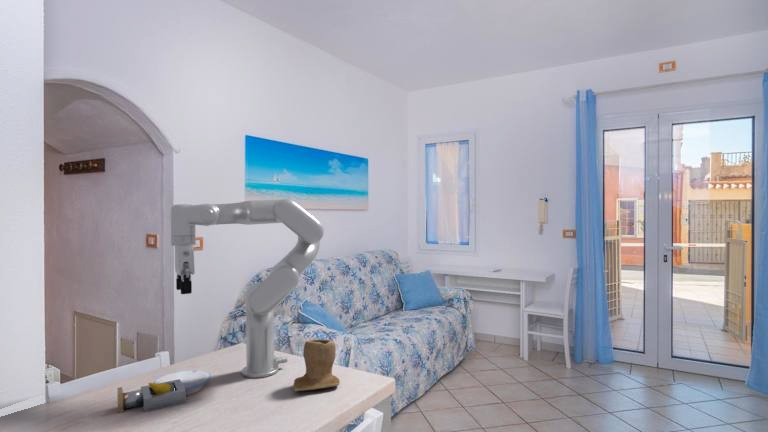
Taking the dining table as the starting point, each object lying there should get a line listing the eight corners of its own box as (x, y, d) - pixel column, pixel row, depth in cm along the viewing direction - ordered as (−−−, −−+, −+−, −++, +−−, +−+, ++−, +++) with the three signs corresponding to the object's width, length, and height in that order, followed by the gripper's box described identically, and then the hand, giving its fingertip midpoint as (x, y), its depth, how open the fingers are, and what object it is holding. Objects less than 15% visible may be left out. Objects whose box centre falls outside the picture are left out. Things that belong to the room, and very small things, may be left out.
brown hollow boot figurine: (334, 376, 150) (334, 333, 150) (342, 390, 139) (342, 343, 139) (290, 382, 145) (289, 337, 145) (294, 396, 134) (293, 348, 134)
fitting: (180, 390, 140) (179, 372, 140) (185, 402, 130) (185, 383, 130) (117, 403, 130) (117, 384, 130) (118, 417, 121) (118, 397, 121)
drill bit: (178, 401, 132) (152, 388, 126) (165, 407, 133) (138, 394, 127) (183, 385, 136) (157, 371, 130) (170, 391, 137) (144, 377, 131)
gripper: (200, 241, 142) (200, 294, 142) (190, 239, 156) (191, 286, 156) (174, 242, 138) (175, 296, 138) (167, 240, 152) (168, 289, 152)
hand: (183, 291), depth 147 cm, fingers open, 9 cm apart
